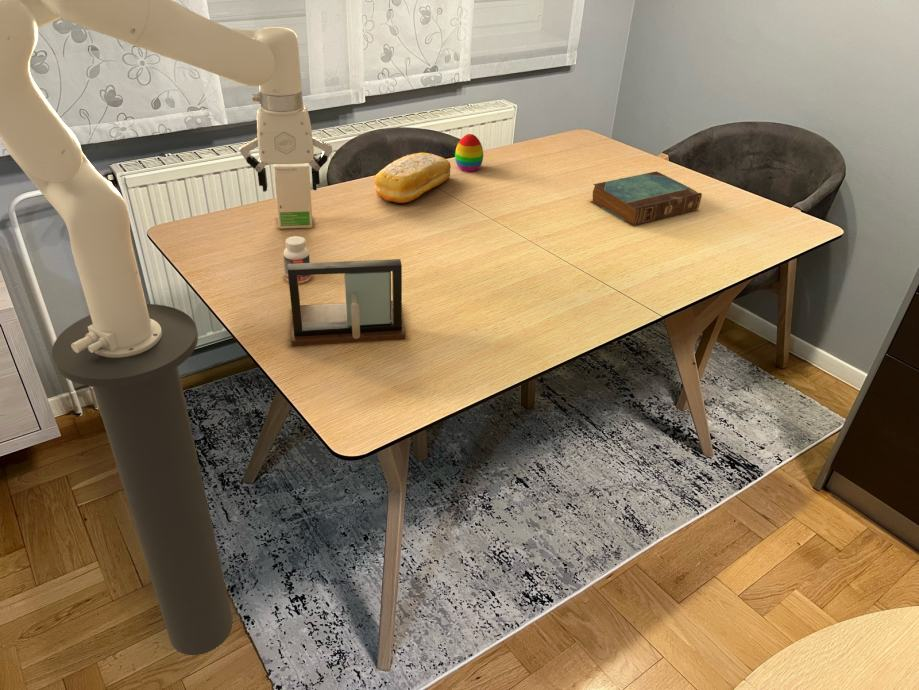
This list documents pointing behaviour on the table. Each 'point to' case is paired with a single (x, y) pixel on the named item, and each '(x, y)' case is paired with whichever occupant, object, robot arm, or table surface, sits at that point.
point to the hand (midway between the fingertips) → (290, 188)
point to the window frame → (342, 306)
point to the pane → (367, 299)
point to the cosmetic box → (293, 195)
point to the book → (645, 198)
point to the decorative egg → (469, 153)
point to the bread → (411, 177)
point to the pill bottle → (296, 255)
